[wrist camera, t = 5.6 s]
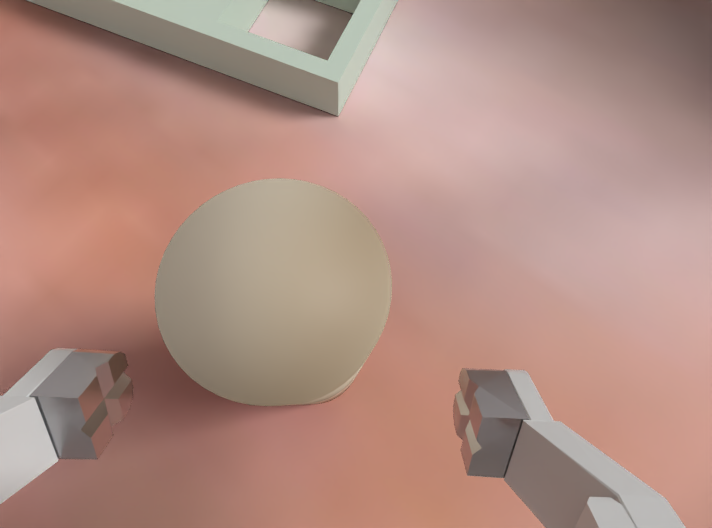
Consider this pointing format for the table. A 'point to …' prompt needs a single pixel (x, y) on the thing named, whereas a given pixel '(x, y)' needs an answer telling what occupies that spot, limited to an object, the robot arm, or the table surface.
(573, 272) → the table surface
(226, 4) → the stool seat
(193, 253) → the loose leg
